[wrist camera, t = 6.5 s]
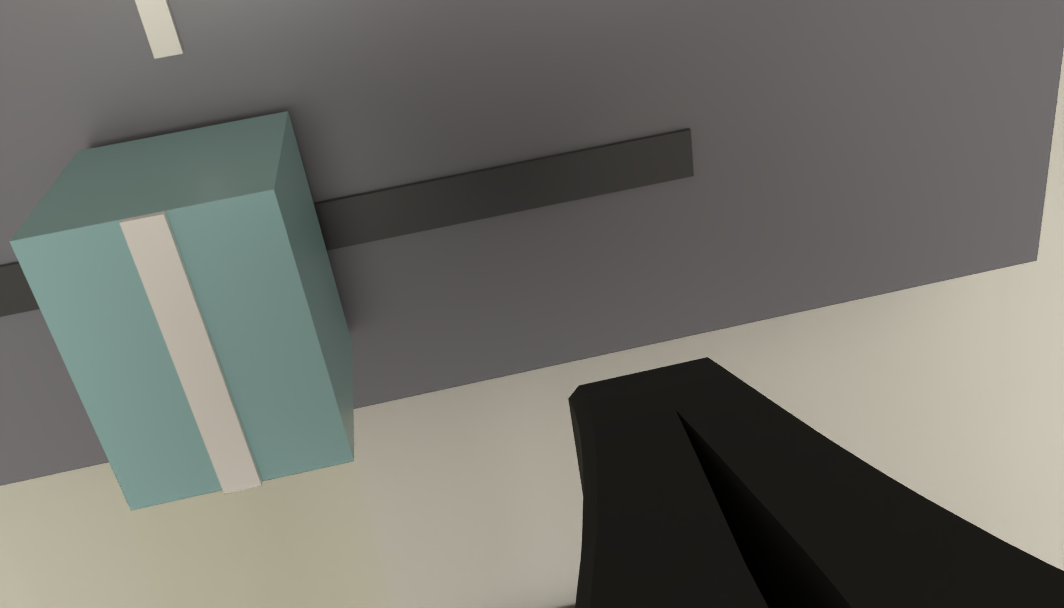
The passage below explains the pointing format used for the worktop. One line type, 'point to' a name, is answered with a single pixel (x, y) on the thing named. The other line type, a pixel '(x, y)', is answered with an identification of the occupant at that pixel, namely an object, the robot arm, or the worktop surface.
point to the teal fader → (196, 309)
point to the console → (551, 164)
